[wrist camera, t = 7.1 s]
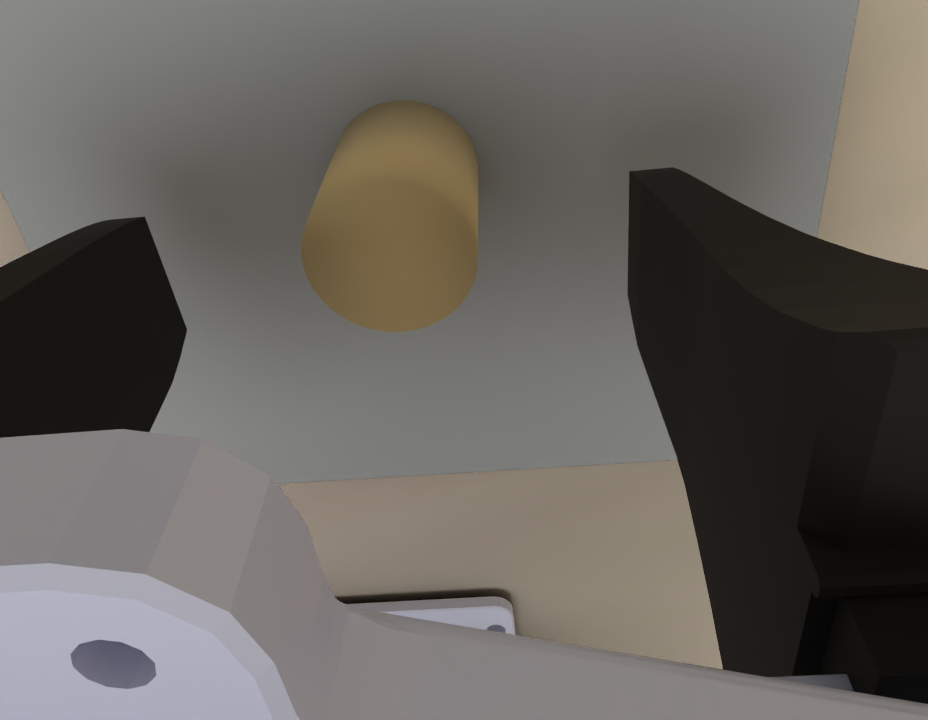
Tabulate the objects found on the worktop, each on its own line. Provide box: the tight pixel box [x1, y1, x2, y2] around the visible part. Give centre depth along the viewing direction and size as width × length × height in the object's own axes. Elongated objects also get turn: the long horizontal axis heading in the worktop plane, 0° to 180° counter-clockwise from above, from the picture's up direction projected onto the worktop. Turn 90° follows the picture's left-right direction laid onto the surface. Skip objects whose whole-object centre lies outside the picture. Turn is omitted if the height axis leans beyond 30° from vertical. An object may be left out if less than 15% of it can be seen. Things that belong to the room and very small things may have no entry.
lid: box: [0, 0, 859, 484], centre depth 13 cm, size 15×15×4 cm
